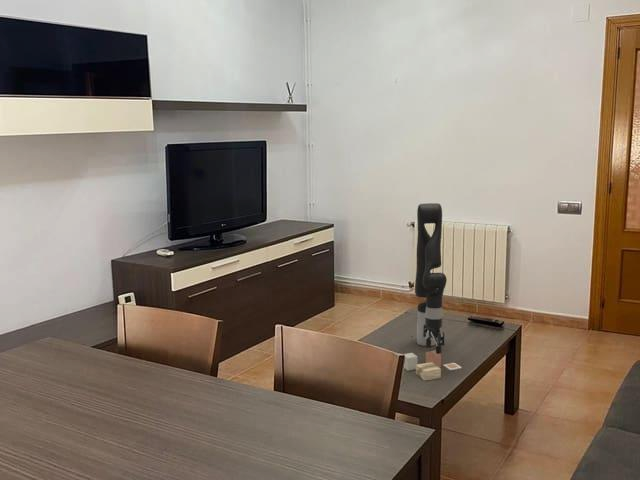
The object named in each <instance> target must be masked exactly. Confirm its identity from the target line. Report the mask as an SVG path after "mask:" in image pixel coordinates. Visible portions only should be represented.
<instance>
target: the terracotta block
mask: <svg viewBox="0 0 640 480" xmlns="http://www.w3.org/2000/svg"><path fill="white" fill-rule="evenodd" d="M430 362H433V363H434V364H435V365H437V366H438V367H439V368H441V367H442V353H440V354H436V350H432V351H425V363H430Z"/></svg>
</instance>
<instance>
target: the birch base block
mask: <svg viewBox="0 0 640 480" xmlns="http://www.w3.org/2000/svg"><path fill="white" fill-rule="evenodd" d="M415 374H416V375H417V376H418V377H419V378H420V379H422V381H430V380H437V379H441V376H442V375H441V374H442V369H441V367H438V366H437V365H435V364H434V363H433V362H430V363H426V362H425V363H424V362H423V363H418V364H416V369H415Z"/></svg>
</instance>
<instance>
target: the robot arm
mask: <svg viewBox="0 0 640 480" xmlns="http://www.w3.org/2000/svg"><path fill="white" fill-rule="evenodd" d="M442 209H443V208H442V205H441V204H440V203H438V202H437V203H435V202H434V203H420V204H418V206H417V210H416V211H417V214H416V215H417V216H416V217H417V238H416V239H417V241H416V242H417V243H416V270H415V271H416V272H415V273H416V274H415V281H414V294H415V296H416V297H417V298H423V299H424V298H425V301H423V302H420V303H418V305H417V323H416V343H417V344H418V345H419V346H422V347H425V348H426V349H430V348H432V346H435V351H436V354H442V346H445V332H444V331H442V332H441V330H440V329H441V328H442V327H443V296H444V292H445V288H446V286H447V275H445V273H444V272H431V271H432V270H434V269H438V268H441V266H442V252H441V250H442V249H441V248H442V247H441V244H442V231H443V210H442ZM427 224H428V225H429V224H434V230H433V232H432V234H431V235H430V234H429V232H428V231H427V229H426V227H425V225H427Z"/></svg>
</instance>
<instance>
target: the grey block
mask: <svg viewBox="0 0 640 480" xmlns="http://www.w3.org/2000/svg"><path fill="white" fill-rule="evenodd" d="M403 354H404V355H405V364H404V369H405V370H406V371H408V372H409V371H414V370H416V364H419V363H418V361H419V360H418V359H419V358H418V356H417V355H416V354H415V353H413V352H409V353H403Z"/></svg>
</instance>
